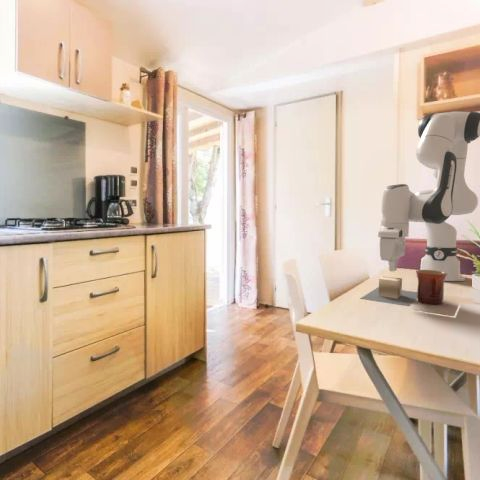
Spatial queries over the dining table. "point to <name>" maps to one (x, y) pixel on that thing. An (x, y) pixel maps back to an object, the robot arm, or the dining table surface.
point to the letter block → (390, 287)
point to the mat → (404, 299)
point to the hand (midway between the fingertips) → (392, 270)
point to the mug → (430, 286)
